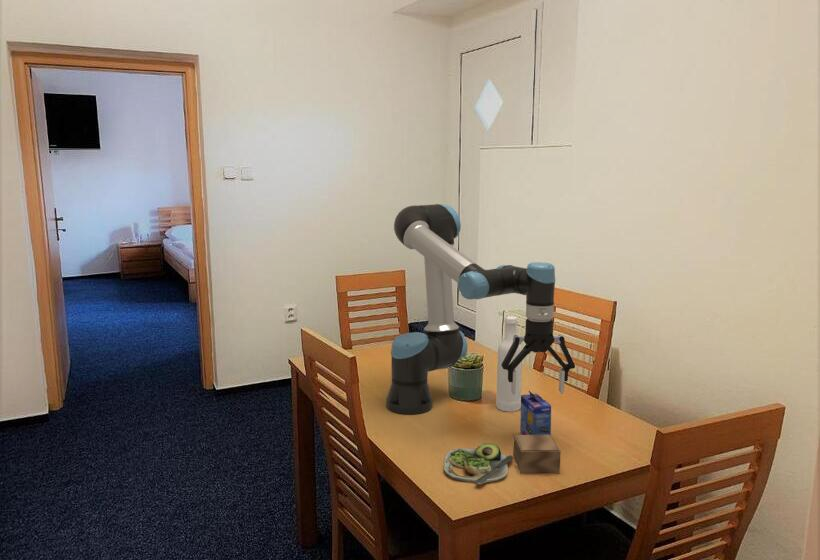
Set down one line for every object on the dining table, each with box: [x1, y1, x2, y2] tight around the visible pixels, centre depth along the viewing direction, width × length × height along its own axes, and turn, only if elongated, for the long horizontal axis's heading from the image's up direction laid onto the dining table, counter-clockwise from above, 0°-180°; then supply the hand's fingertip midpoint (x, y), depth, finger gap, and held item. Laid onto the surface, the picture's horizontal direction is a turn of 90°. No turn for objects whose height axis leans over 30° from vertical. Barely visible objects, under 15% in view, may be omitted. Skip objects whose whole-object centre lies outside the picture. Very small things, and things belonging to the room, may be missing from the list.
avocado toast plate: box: [443, 442, 514, 486], centre depth 165 cm, size 19×18×5 cm
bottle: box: [495, 315, 523, 413], centre depth 206 cm, size 8×8×30 cm
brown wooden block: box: [512, 434, 561, 475], centre depth 168 cm, size 10×10×6 cm
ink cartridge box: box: [519, 390, 552, 436], centre depth 182 cm, size 10×6×14 cm, turn 14°
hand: (537, 392), depth 181 cm, fingers open, 13 cm apart
